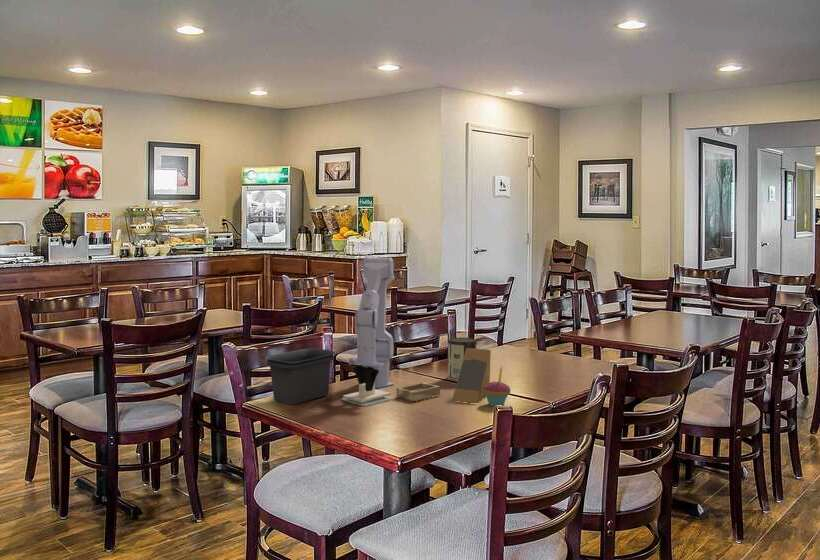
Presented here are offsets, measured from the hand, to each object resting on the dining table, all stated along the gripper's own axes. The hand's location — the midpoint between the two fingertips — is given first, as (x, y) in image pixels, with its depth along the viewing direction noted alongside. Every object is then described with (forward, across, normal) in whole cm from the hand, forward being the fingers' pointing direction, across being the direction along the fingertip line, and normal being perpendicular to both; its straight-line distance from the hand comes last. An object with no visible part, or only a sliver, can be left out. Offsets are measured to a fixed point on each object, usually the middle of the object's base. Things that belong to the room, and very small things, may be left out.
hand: (366, 389), depth 234 cm
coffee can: (+3, 0, +46) cm, 47 cm away
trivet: (+3, 0, 0) cm, 3 cm away
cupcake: (+3, +32, +26) cm, 41 cm away
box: (+3, +8, +16) cm, 18 cm away
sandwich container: (+4, +21, +26) cm, 34 cm away
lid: (+2, 0, 0) cm, 2 cm away
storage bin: (+4, -17, -14) cm, 22 cm away
